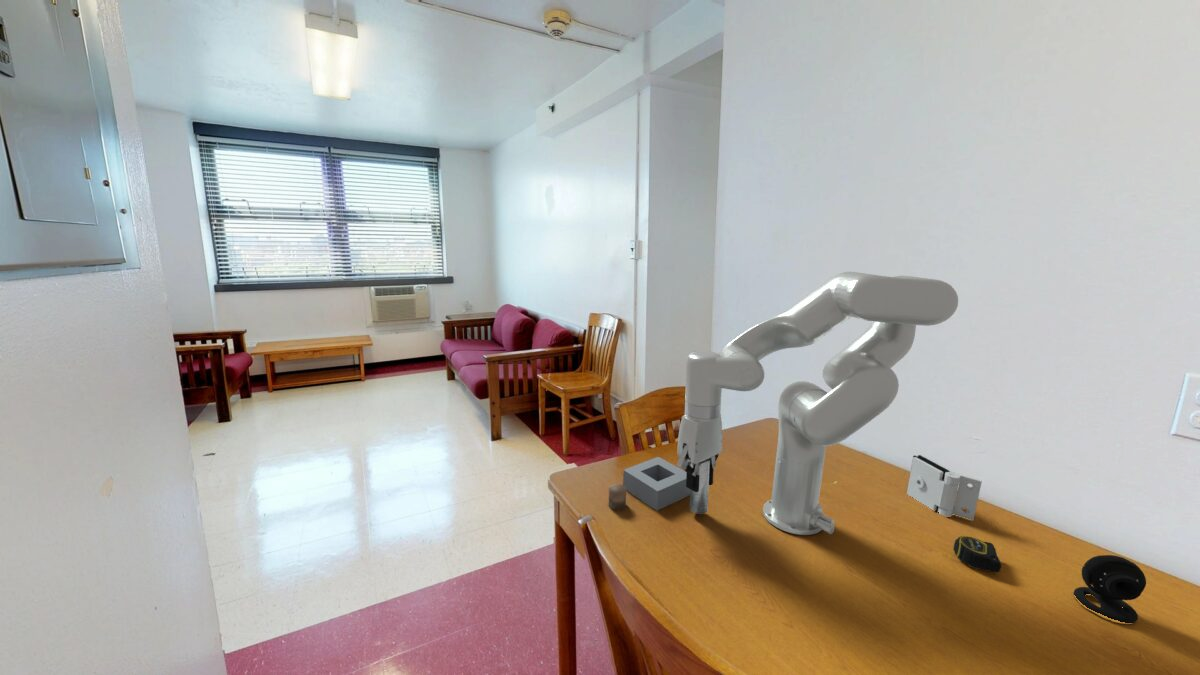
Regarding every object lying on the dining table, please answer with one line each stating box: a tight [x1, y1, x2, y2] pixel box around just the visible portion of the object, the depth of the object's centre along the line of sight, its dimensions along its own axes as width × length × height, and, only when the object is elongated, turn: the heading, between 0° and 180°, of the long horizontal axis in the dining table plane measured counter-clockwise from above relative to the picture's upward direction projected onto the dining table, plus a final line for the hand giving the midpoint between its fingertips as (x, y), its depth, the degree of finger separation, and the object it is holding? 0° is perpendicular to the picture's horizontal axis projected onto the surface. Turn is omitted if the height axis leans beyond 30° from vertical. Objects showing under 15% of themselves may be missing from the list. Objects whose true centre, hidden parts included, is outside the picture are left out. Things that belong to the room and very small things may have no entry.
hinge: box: [906, 454, 983, 521], centre depth 106 cm, size 14×5×10 cm, turn 23°
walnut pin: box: [608, 483, 627, 512], centre depth 105 cm, size 4×4×4 cm
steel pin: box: [689, 459, 710, 515], centre depth 101 cm, size 4×4×12 cm
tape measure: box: [953, 535, 1002, 573], centre depth 89 cm, size 7×7×4 cm
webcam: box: [1073, 554, 1147, 624], centre depth 77 cm, size 8×8×10 cm
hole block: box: [622, 456, 690, 511], centre depth 111 cm, size 12×12×5 cm
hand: (699, 485), depth 101 cm, fingers closed on steel pin, 4 cm apart
